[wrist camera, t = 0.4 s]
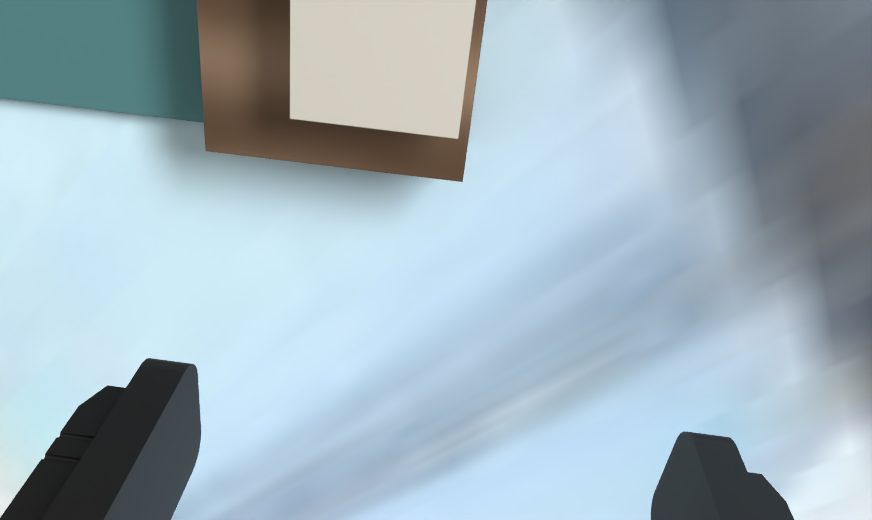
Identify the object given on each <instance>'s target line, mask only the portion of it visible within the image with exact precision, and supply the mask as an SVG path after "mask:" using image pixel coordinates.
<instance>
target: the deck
mask: <svg viewBox="0 0 872 520" xmlns="http://www.w3.org/2000/svg"><path fill="white" fill-rule="evenodd" d="M486 6H487V0H476V5H475V12H474V20H473V28H472V36H471V43H470V51H469V59H468V67H467V74H466V82H465V90H464V98H463V106H462V113H461V121H460V129H459V137H458V139H455V138H447V137H438V136H430V135H422V134H413V133H405V132H397V131H389V130H380V129H372V128H364V127H355V126H347V125H339V124H331V123H322V122H314V121H306V120H297V119H290V0H197V16H198V32H199V49H200V65H201V81H202V98H203V114H204V130H205V147H206V151H210V152H219V153H227V154H235V155H243V156H252V157H260V158H268V159H277V160H285V161H293V162H302V163H310V164H318V165H327V166H335V167H343V168H352V169H360V170H368V171H377V172H385V173H393V174H402V175H410V176H418V177H427V178H435V179H443V180H452V181H460V182H463V174H464V167H465V160H466V152H467V145H468V138H469V130H470V123H471V116H472V108H473V101H474V94H475V86H476V79H477V72H478V65H479V57H480V50H481V43H482V35H483V28H484V21H485V13H486Z"/></svg>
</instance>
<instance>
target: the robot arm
mask: <svg viewBox="0 0 872 520" xmlns="http://www.w3.org/2000/svg"><path fill="white" fill-rule="evenodd" d="M200 440H201V422H200V405H199V389H198V373H197V368H196V366H195V365H194V364H189V363H181V362H174V361H166V360H159V359H151V358H148V359H146V360H145V361H144V362H143V363H142V364H141V365H140V367H139V369H138V370H137V372H136V373H135V375H134V376H133V378H132V380H131V381H130V383H129V384H128V386H127V387H126V388H122V387H115V386H106V387H105V388H103V389H102V390H101V391H99V392H98V393H96V394H95V395H94V396H92V397H91V398H89V399H88V400H87V401H85V402H84V403H82V404H81V405H80V406H78V408H77V409H76V411H75V412H74V414H73V415H72V416H71V418H70V419H69V421H68V422H67V424H66V425H65V426H64V428H63V429H62V431H61V432H60V437H59V438H58V437H57V438H56V439H55V441H54V442H53V444H52V445H51V446H50V448H49V449H48V451H47V452H46V453H45V458H44V460H43V459H41V461H40V462H39V463H38V465H37V466H36V468H35V469H34V471H33V472H32V473H31V475H30V476H29V478H28V479H27V481H26V482H25V483H24V485H23V486H22V488H21V489H20V491H19V492H18V493H17V495H16V496H15V498H14V499H13V501H12V502H11V503H10V505H9V506H8V508H7V509H6V510H5V512H4V513H3V515H2V516H1V518H0V520H171V518H172V516H173V513H174V511H175V509H176V507H177V505H178V502H179V500H180V498H181V496H182V494H183V491H184V489H185V487H186V485H187V482H188V480H189V478H190V476H191V474H192V471H193V469H194V466H195V463H196V460H197V456H198V452H199V447H200ZM651 520H794V518H793V516H792V514H791V512H790V509H789V507H788V505H787V503H786V501H785V500H784V499H783V498H782V497H781V496H780V494H779V493H778V492H777V491H776V490H775V489H774V488H773V487H772V485H771V484H770V483H769V482H768V481H767V480H766V479H765V478H764V476H763V475H762V474H756V473H749V472H747V470H746V468H745V465H744V463H743V460H742V458H741V456H740V453H739V451H738V448H737V446H736V444H735V443H734V441H733V440H732V439H731V438H729V437H722V436H715V435H707V434H700V433H692V432H682V433H681V434H680V435H679V436H678V438H677V440H676V442H675V444H674V447H673V449H672V452H671V454H670V456H669V459H668V461H667V464H666V466H665V468H664V471H663V473H662V476H661V478H660V480H659V483H658V485H657V488H656V490H655V493H654V496H653V500H652V507H651Z"/></svg>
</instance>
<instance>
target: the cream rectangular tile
mask: <svg viewBox="0 0 872 520" xmlns="http://www.w3.org/2000/svg"><path fill="white" fill-rule="evenodd" d="M475 5H476V0H290V119H297V120H306V121H314V122H322V123H331V124H339V125H347V126H355V127H364V128H372V129H380V130H389V131H397V132H405V133H413V134H422V135H430V136H438V137H447V138H455V139H458V137H459V129H460V121H461V113H462V106H463V98H464V90H465V82H466V74H467V67H468V59H469V51H470V43H471V36H472V28H473V20H474V12H475Z"/></svg>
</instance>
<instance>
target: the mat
mask: <svg viewBox="0 0 872 520" xmlns="http://www.w3.org/2000/svg"><path fill="white" fill-rule="evenodd" d="M0 98H6V99H14V100H22V101H31V102H39V103H47V104H56V105H64V106H72V107H80V108H89V109H97V110H105V111H114V112H122V113H130V114H139V115H147V116H155V117H164V118H172V119H180V120H188V121H197V122H204V114H203V98H202V81H201V65H200V49H199V32H198V16H197V0H0Z"/></svg>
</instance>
